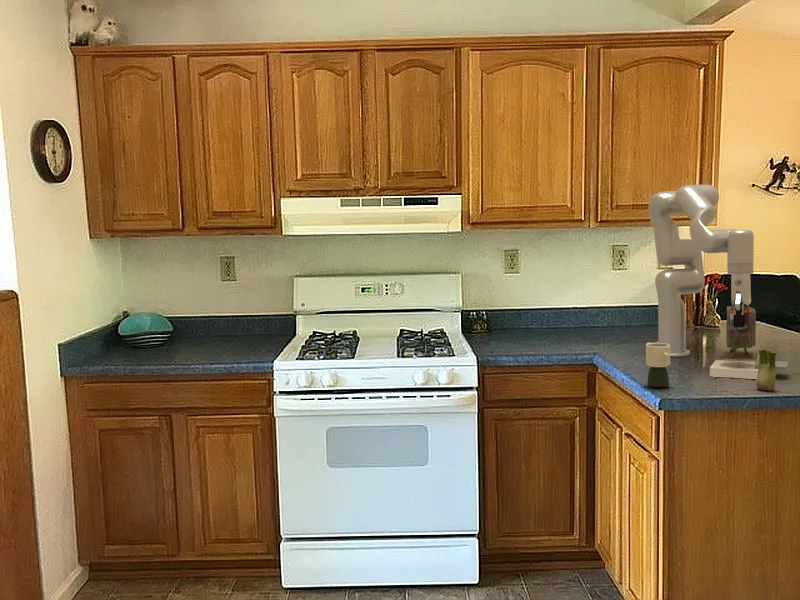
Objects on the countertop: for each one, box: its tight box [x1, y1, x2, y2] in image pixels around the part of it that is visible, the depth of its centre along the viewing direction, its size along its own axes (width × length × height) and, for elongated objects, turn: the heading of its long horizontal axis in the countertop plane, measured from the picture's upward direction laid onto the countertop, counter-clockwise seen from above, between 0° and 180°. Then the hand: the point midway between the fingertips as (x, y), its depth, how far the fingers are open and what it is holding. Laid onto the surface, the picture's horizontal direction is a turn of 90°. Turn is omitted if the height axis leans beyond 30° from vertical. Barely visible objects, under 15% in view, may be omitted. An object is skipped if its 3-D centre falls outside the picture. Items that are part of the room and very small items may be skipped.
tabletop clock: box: [726, 304, 757, 359], centre depth 267 cm, size 14×9×25 cm, turn 158°
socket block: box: [709, 359, 759, 379], centre depth 239 cm, size 16×14×3 cm
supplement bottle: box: [730, 303, 751, 336], centre depth 237 cm, size 6×6×11 cm
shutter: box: [754, 354, 789, 371], centre depth 234 cm, size 9×9×3 cm
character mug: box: [645, 342, 672, 388], centre depth 226 cm, size 11×7×13 cm, turn 15°
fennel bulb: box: [756, 348, 777, 391], centre depth 217 cm, size 6×5×12 cm
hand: (740, 325), depth 237 cm, fingers closed on supplement bottle, 6 cm apart
